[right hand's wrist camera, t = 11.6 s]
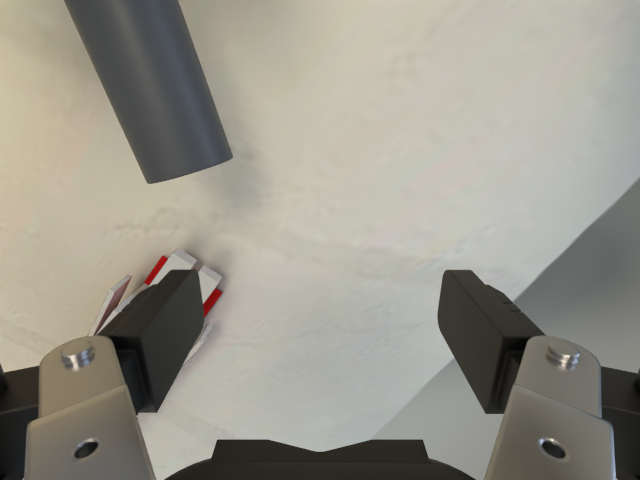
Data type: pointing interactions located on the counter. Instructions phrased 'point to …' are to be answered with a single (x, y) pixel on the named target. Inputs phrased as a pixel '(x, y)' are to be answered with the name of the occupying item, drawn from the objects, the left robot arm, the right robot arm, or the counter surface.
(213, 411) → the counter surface
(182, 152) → the rod
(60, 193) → the counter surface
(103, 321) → the toy
